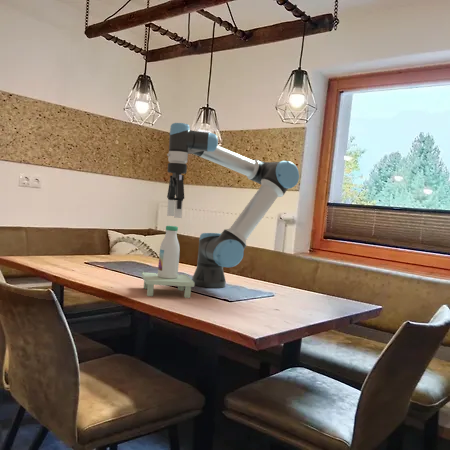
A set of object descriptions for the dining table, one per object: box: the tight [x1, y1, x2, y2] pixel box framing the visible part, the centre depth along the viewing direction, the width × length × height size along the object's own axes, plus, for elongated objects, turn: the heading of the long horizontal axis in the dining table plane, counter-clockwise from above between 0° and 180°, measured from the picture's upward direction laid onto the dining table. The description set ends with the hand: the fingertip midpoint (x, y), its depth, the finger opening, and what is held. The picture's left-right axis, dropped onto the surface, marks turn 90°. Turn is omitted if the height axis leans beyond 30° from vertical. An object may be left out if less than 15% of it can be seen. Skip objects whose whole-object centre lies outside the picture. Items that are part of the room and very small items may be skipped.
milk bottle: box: [157, 225, 181, 279], centre depth 183 cm, size 8×8×20 cm
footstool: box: [141, 272, 196, 299], centre depth 184 cm, size 18×18×6 cm
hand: (174, 216), depth 188 cm, fingers open, 13 cm apart
